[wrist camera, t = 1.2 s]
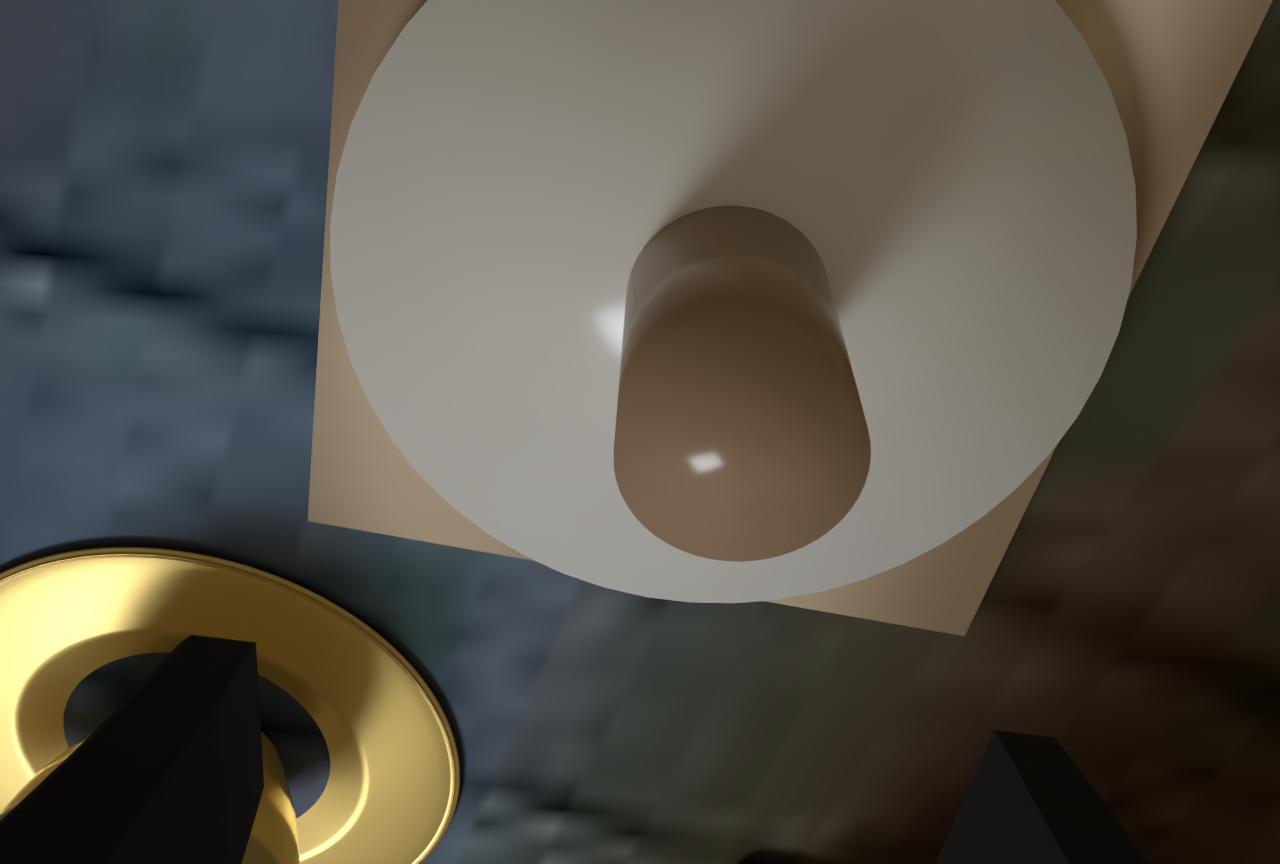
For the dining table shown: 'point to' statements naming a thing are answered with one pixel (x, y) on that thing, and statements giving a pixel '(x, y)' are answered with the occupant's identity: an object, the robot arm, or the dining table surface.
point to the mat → (938, 579)
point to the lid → (731, 275)
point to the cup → (286, 655)
